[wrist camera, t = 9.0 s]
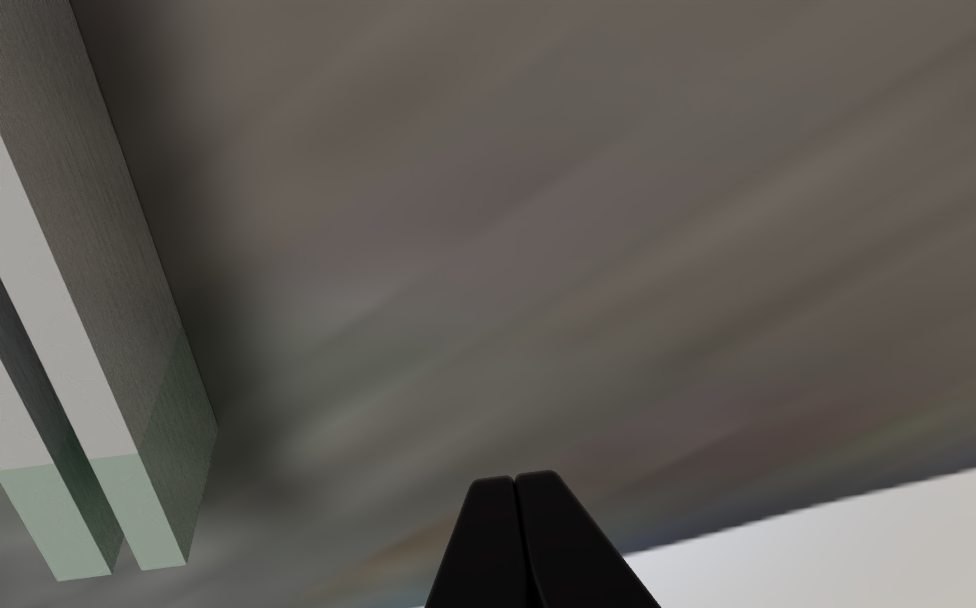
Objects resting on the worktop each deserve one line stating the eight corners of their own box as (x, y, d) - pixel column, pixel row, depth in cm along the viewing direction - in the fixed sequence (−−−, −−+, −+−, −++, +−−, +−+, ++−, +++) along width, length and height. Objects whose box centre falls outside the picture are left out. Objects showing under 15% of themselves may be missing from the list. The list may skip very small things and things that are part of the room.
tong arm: (-262, -716, 11) (-580, -924, 8) (-184, -722, 11) (-462, -933, 8) (180, 432, 23) (141, 570, 19) (218, 427, 23) (186, 564, 19)
